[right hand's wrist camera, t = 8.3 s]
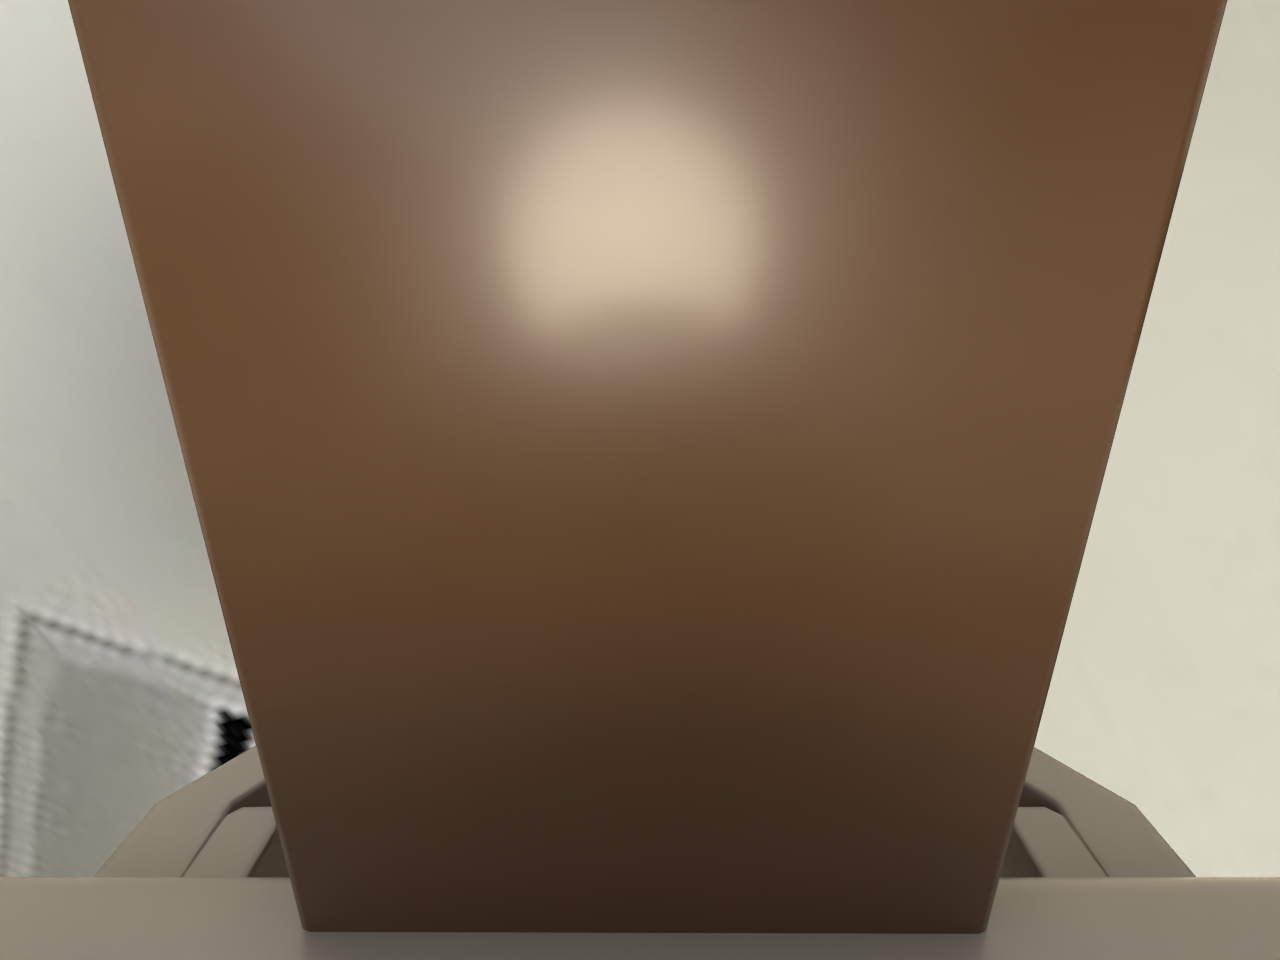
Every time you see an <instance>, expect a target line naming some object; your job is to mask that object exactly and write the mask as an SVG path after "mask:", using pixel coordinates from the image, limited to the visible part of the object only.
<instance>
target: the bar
mask: <svg viewBox="0 0 1280 960" xmlns="http://www.w3.org/2000/svg"><path fill="white" fill-rule="evenodd" d="M68 2H69V6H70V10H71V14H72V18H73V22H74V26H75V30H76V34H77V38H78V42H79V46H80V50H81V54H82V58H83V62H84V65H85V69H86V73H87V77H88V81H89V85H90V89H91V93H92V97H93V101H94V105H95V109H96V113H97V117H98V121H99V125H100V129H101V133H102V137H103V141H104V145H105V149H106V153H107V157H108V161H109V164H110V168H111V172H112V176H113V180H114V184H115V188H116V192H117V196H118V200H119V204H120V208H121V212H122V216H123V220H124V224H125V228H126V232H127V236H128V240H129V244H130V248H131V252H132V256H133V260H134V264H135V267H136V271H137V275H138V279H139V283H140V287H141V291H142V295H143V299H144V303H145V307H146V311H147V315H148V319H149V323H150V327H151V331H152V335H153V339H154V343H155V347H156V351H157V355H158V359H159V363H160V366H161V370H162V374H163V378H164V382H165V386H166V390H167V394H168V398H169V402H170V406H171V410H172V414H173V418H174V422H175V426H176V430H177V434H178V438H179V442H180V446H181V450H182V454H183V458H184V462H185V465H186V469H187V473H188V477H189V481H190V485H191V489H192V493H193V497H194V501H195V505H196V509H197V513H198V517H199V521H200V525H201V529H202V533H203V537H204V541H205V545H206V549H207V553H208V557H209V561H210V564H211V568H212V572H213V576H214V580H215V584H216V588H217V592H218V596H219V600H220V604H221V608H222V612H223V616H224V620H225V624H226V628H227V632H228V636H229V640H230V644H231V648H232V652H233V656H234V660H235V663H236V667H237V671H238V675H239V679H240V683H241V687H242V691H243V695H244V699H245V703H246V707H247V711H248V715H249V719H250V723H251V727H252V731H253V735H254V739H255V743H256V747H257V751H258V755H259V759H260V763H261V766H262V770H263V774H264V778H265V782H266V786H267V790H268V794H269V798H270V802H271V806H272V810H273V814H274V818H275V822H276V826H277V830H278V834H279V838H280V842H281V846H282V850H283V854H284V858H285V862H286V865H287V869H288V873H289V877H290V881H291V885H292V889H293V893H294V897H295V901H296V905H297V909H298V913H299V917H300V921H301V925H302V929H304V930H306V931H309V932H515V933H851V934H980V933H982V932H984V931H986V928H987V925H988V921H989V917H990V913H991V909H992V905H993V901H994V898H995V894H996V890H997V886H998V882H999V878H1000V874H1001V871H1002V867H1003V863H1004V859H1005V855H1006V851H1007V847H1008V844H1009V840H1010V836H1011V832H1012V828H1013V824H1014V821H1015V817H1016V813H1017V809H1018V805H1019V801H1020V797H1021V794H1022V790H1023V786H1024V782H1025V778H1026V774H1027V770H1028V767H1029V763H1030V759H1031V755H1032V751H1033V747H1034V743H1035V740H1036V736H1037V732H1038V728H1039V724H1040V720H1041V716H1042V713H1043V709H1044V705H1045V701H1046V697H1047V693H1048V689H1049V686H1050V682H1051V678H1052V674H1053V670H1054V666H1055V662H1056V659H1057V655H1058V651H1059V647H1060V643H1061V639H1062V636H1063V632H1064V628H1065V624H1066V620H1067V616H1068V612H1069V609H1070V605H1071V601H1072V597H1073V593H1074V589H1075V585H1076V582H1077V578H1078V574H1079V570H1080V566H1081V562H1082V558H1083V555H1084V551H1085V547H1086V543H1087V539H1088V535H1089V531H1090V528H1091V524H1092V520H1093V516H1094V512H1095V508H1096V504H1097V501H1098V497H1099V493H1100V489H1101V485H1102V481H1103V477H1104V474H1105V470H1106V466H1107V462H1108V458H1109V454H1110V451H1111V447H1112V443H1113V439H1114V435H1115V431H1116V427H1117V424H1118V420H1119V416H1120V412H1121V408H1122V404H1123V400H1124V397H1125V393H1126V389H1127V385H1128V381H1129V377H1130V373H1131V370H1132V366H1133V362H1134V358H1135V354H1136V350H1137V346H1138V343H1139V339H1140V335H1141V331H1142V327H1143V323H1144V319H1145V316H1146V312H1147V308H1148V304H1149V300H1150V296H1151V293H1152V289H1153V285H1154V281H1155V277H1156V273H1157V269H1158V266H1159V262H1160V258H1161V254H1162V250H1163V246H1164V242H1165V239H1166V235H1167V231H1168V227H1169V223H1170V219H1171V215H1172V212H1173V208H1174V204H1175V200H1176V196H1177V192H1178V188H1179V185H1180V181H1181V177H1182V173H1183V169H1184V165H1185V161H1186V158H1187V154H1188V150H1189V146H1190V142H1191V138H1192V134H1193V131H1194V127H1195V123H1196V119H1197V115H1198V111H1199V108H1200V104H1201V100H1202V96H1203V92H1204V88H1205V84H1206V81H1207V77H1208V73H1209V69H1210V65H1211V61H1212V57H1213V54H1214V50H1215V46H1216V42H1217V38H1218V34H1219V30H1220V27H1221V23H1222V19H1223V15H1224V11H1225V7H1226V3H1227V0H68Z"/></svg>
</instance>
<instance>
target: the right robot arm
mask: <svg viewBox="0 0 1280 960" xmlns="http://www.w3.org/2000/svg"><path fill="white" fill-rule="evenodd" d="M0 960H1280V877H1196V876H1195V875H1194V874H1193V873H1192V871H1191V870H1190V869H1189V868H1188V867H1187V866H1186V864H1185V863H1184V862H1183V861H1182V860H1181V859H1180V857H1179V856H1178V855H1177V854H1176V853H1175V851H1174V850H1173V849H1172V848H1171V847H1170V846H1169V844H1168V843H1167V842H1166V841H1165V840H1164V839H1163V837H1162V836H1161V835H1160V834H1159V833H1158V831H1157V830H1156V829H1155V828H1154V827H1153V826H1152V824H1151V823H1150V822H1149V821H1148V820H1147V819H1146V817H1145V816H1144V815H1143V814H1142V813H1141V811H1140V810H1139V809H1138V808H1137V807H1136V806H1135V805H1134V804H1132V803H1131V802H1129V801H1127V800H1125V799H1124V798H1122V797H1120V796H1118V795H1117V794H1115V793H1113V792H1111V791H1110V790H1108V789H1106V788H1104V787H1103V786H1101V785H1099V784H1097V783H1096V782H1094V781H1092V780H1091V779H1089V778H1087V777H1085V776H1084V775H1082V774H1080V773H1078V772H1077V771H1075V770H1073V769H1071V768H1070V767H1068V766H1066V765H1064V764H1063V763H1061V762H1059V761H1057V760H1056V759H1054V758H1052V757H1050V756H1049V755H1047V754H1045V753H1044V752H1042V751H1040V750H1038V749H1037V748H1035V747H1033V751H1032V755H1031V759H1030V763H1029V767H1028V770H1027V774H1026V778H1025V782H1024V786H1023V790H1022V794H1021V797H1020V801H1019V805H1018V809H1017V813H1016V817H1015V821H1014V824H1013V828H1012V832H1011V836H1010V840H1009V844H1008V847H1007V851H1006V855H1005V859H1004V863H1003V867H1002V871H1001V874H1000V878H999V882H998V886H997V890H996V894H995V898H994V901H993V905H992V909H991V913H990V917H989V921H988V925H987V928H986V931H984V932H982V933H980V934H851V933H515V932H309V931H306V930H304V929H302V925H301V921H300V917H299V913H298V909H297V905H296V901H295V897H294V893H293V889H292V885H291V881H290V877H289V873H288V869H287V865H286V862H285V858H284V854H283V850H282V846H281V842H280V838H279V834H278V830H277V826H276V822H275V818H274V814H273V810H272V806H271V802H270V798H269V794H268V790H267V786H266V782H265V778H264V774H263V770H262V766H261V763H260V759H259V755H258V751H257V747H256V746H254V747H253V748H251V749H249V750H247V751H246V752H244V753H242V754H241V755H239V756H237V757H235V758H234V759H232V760H230V761H228V762H227V763H225V764H223V765H222V766H220V767H218V768H216V769H215V770H213V771H211V772H209V773H208V774H206V775H204V776H202V777H201V778H199V779H197V780H196V781H194V782H192V783H190V784H189V785H187V786H185V787H183V788H182V789H180V790H178V791H177V792H175V793H173V794H171V795H170V796H168V797H166V798H164V799H163V800H161V801H159V802H158V803H156V804H155V805H154V806H153V807H152V808H151V809H150V810H149V812H148V813H147V814H146V815H145V816H144V818H143V819H142V820H141V821H140V822H139V824H138V825H137V826H136V827H135V828H134V829H133V831H132V832H131V833H130V834H129V835H128V837H127V838H126V839H125V840H124V841H123V843H122V844H121V845H120V846H119V847H118V849H117V850H116V851H115V852H114V853H113V854H112V856H111V857H110V858H109V859H108V860H107V862H106V863H105V864H104V865H103V866H102V868H101V869H100V870H99V871H98V872H97V874H96V875H95V876H94V877H0Z"/></svg>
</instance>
